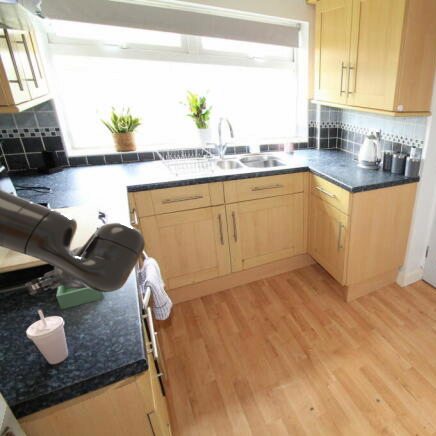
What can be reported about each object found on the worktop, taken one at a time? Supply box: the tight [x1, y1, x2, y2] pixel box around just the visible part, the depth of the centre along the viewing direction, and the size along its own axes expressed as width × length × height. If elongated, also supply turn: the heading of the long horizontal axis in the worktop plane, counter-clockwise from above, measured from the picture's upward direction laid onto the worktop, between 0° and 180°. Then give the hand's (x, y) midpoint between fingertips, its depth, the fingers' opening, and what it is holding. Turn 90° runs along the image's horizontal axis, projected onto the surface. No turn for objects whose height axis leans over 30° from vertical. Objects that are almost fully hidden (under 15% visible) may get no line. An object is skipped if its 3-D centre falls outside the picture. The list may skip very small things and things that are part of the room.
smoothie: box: [25, 309, 69, 365], centre depth 72 cm, size 6×6×14 cm
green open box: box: [55, 285, 106, 310], centre depth 95 cm, size 10×10×5 cm
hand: (65, 274), depth 70 cm, fingers open, 8 cm apart
